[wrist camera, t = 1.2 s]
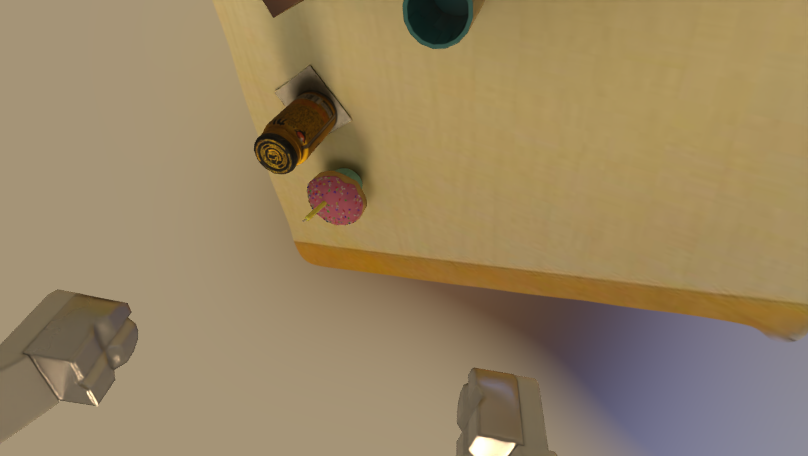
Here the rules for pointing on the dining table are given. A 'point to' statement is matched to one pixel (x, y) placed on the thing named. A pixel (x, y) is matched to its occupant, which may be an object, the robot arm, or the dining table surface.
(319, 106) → the condiment
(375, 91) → the dining table surface
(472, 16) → the cup
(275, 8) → the shelf
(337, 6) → the dining table surface
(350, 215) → the cupcake
